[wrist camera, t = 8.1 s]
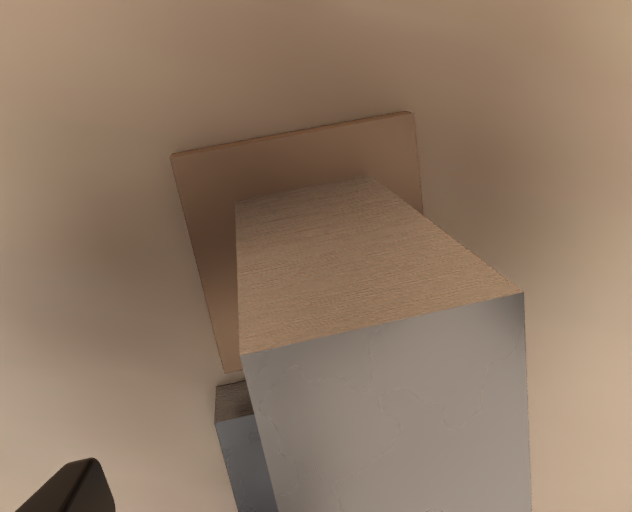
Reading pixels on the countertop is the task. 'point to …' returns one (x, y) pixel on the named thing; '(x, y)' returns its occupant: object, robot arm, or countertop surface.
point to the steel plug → (379, 356)
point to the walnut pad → (278, 176)
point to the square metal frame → (243, 449)
